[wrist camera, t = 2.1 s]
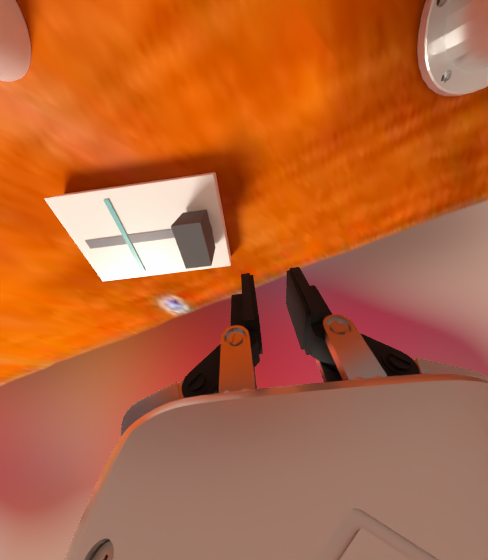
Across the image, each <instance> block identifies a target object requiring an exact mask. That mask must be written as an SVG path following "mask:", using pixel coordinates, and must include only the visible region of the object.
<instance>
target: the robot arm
mask: <svg viewBox="0 0 488 560" xmlns="http://www.w3.org/2000/svg"><path fill="white" fill-rule="evenodd" d="M417 55H418V64H419V69H420V72H421V75H422V78H423V80H424V81H425V83H426V84H427V86H428V87H429V88H430V89H431V90H433V91H434V92H435V93H437V94H440V95H443V96H460V95H464V94H468V93H472V92H475V91H478V90H480V89H483V88H485V87H487V86H488V0H426V1H425V5H424V8H423V11H422V16H421V21H420V27H419V32H418V47H417ZM241 280H242V294H237V295H232V301H231V302H232V303H231V305H232V306H231V327H229V328H227V329H226V330H225V331H224V332H223V334H222V336H221V344H220V345H219V346H218V347H217V348H216V349H215V350H214V351H212V352H211V353H210V354H209V355H208V356H207V357H206V358H205V359H204V360H203V361H202V362H201V363H199V364H198V365H197V366H196V367H195V368H194V369H193V370H192V371H191V372H190V373H189V374H188V375H187V376H186V377H185V379H184V381H182V382H180V383H177V382H176V383H174V384H172V385H170V386H168V387H166V388H164V389H162V390H160V391H158V392H156V393H154V394H152V395H150V396H148V397H146V398H144V399H142V400H140V401H138V402H137V403H135V404H134V405H132V406H131V408H130V409H129V410H128V411H127V412H126V414H125V416H124V418H123V421H122V427H121V437H120V439H119V440H118V442H117V444H116V445H115V447H114V449H113V451H112V453H111V455H110V456H109V458H108V460H107V462H106V465H105V467H104V469H103V471H102V473H101V475H100V477H99V479H98V482H97V484H96V486H95V488H94V490H93V493H92V495H91V497H90V500H89V502H88V504H87V506H86V509H85V511H84V514H83V516H82V518H81V521H80V523H79V525H78V527H77V530H76V532H75V535H74V537H73V539H72V542H71V544H70V547H69V549H68V552H67V554H66V557H65V559H64V560H488V378H487V377H486V376H484V375H482V374H480V373H478V372H475V371H472V370H468V369H464V368H459V367H454V366H450V365H446V364H441V363H437V362H432V361H428V360H423V359H419V358H416V359H415V360H413V359H412V358H410V357H409V356H408V355H406V354H404V353H403V352H401V351H399V350H396V349H394V348H392V347H390V346H387V345H385V344H383V343H381V342H378V341H376V340H374V339H372V338H370V337H367V336H365V335H363V334H360V333H359V331H358V330H357V328H356V327H355V325H354V324H353V323H352V322H351V320H349V319H348V318H346V317H344V316H341V315H332V313H331V312H330V310H329V308H328V306H327V305H326V303H325V302H324V300H323V298H322V297H321V295H320V293H319V291H318V290H317V288H316V287H315V286H309V284H308V282H307V280H306V278H305V277H304V275H303V273H302V271H301V269H300V268H299V267H296V268H290V271H287V288H286V304H287V308H288V311H289V314H290V317H291V320H292V323H293V326H294V329H295V332H296V335H297V338H298V341H299V344H300V347H301V349H305V352H306V355H309V354H311V356H312V357H314V358H316V361H317V365H318V368H319V370H320V373H321V376H322V379H323V382H324V383H313V384H303V385H293V386H283V387H272V388H263V389H257V385H256V375H255V366H256V365H257V364H258V363H259V361H260V358H259V354H262V353H263V352H262V342H261V333H260V324H259V315H258V308H257V301H256V293H255V286H254V279H253V275H250V274H249V273H247V274H241Z"/></svg>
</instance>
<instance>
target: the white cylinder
mask: <svg viewBox="0 0 488 560" xmlns="http://www.w3.org/2000/svg"><path fill="white" fill-rule="evenodd" d="M30 62H31V42H30V37H29V33H28V29H27V26H26V23H25V20H24V17H23V15H22V12H21V10H20V8H19V6H18V4H17V2H16V0H0V80H1V81H15V80H18V79H20V78H22V77H23V76H24V75H25V74H26V72H27V71H28V69H29V66H30Z"/></svg>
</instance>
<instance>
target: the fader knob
mask: <svg viewBox="0 0 488 560" xmlns="http://www.w3.org/2000/svg"><path fill="white" fill-rule="evenodd" d="M171 229H172V232H173V234H174V237H175V240H176V243H177V246H178V248H179V251H180V254H181V257H182V259H183V262H184V265H185V268H186V269H189V268H197V267H205V266H212V261H213V257H214V252H215V242H214V238H213V234H212V229H211V225H210V221H209V216H208V212H207V209H206V210H199V211H192V212H185V213H182V214H181V215H180V216H179V217H178V219H177V220H176V221H175V222H174V223H173V224H172V225H171Z"/></svg>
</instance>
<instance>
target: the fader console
mask: <svg viewBox="0 0 488 560" xmlns="http://www.w3.org/2000/svg"><path fill="white" fill-rule="evenodd" d="M44 199H45V201H46V202H47V204H48V205H49V206H50V208H51V209H52V211H53V212H54V214H55V215H56V216H57V218H58V219H59V221H60V222H61V223H62V225H63V226H64V228H65V229H66V230H67V232H68V233H69V235H70V236H71V237H72V239H73V240H74V242H75V243H76V244H77V246H78V247H79V249H80V250H81V251H82V253H83V254H84V256H85V257H86V259H87V260H88V261H89V263H90V264H91V266H92V267H93V268H94V270H95V271H96V273H97V274H98V275H99V277H100V278H101V280H102V281H111V280H119V279H127V278H135V277H143V276H151V275H159V274H167V273H175V272H184V271H192V270H200V269H208V268H216V267H224V266H231V253H230V248H229V242H228V237H227V232H226V226H225V221H224V215H223V210H222V204H221V199H220V193H219V188H218V182H217V177H216V172H212V173H205V174H198V175H191V176H184V177H177V178H170V179H163V180H156V181H149V182H143V183H136V184H129V185H122V186H115V187H108V188H101V189H94V190H87V191H80V192H73V193H66V194H61V195H57V196H53V197H49V198H44ZM206 209H207V212H208V216H209V221H210V225H211V229H212V234H213V238H214V242H215V252H214V257H213V261H212V266H205V267H197V268H189V269H186V268H185V265H184V262H183V259H182V257H181V254H180V251H179V248H178V246H177V243H176V240H175V237H174V234H173V232H172V229H171V225H172V224H173V223H174V222H175V221H176V220H177V219H178V217H179V216H180V215H181V214H182V213H185V212H192V211H199V210H206Z"/></svg>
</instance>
